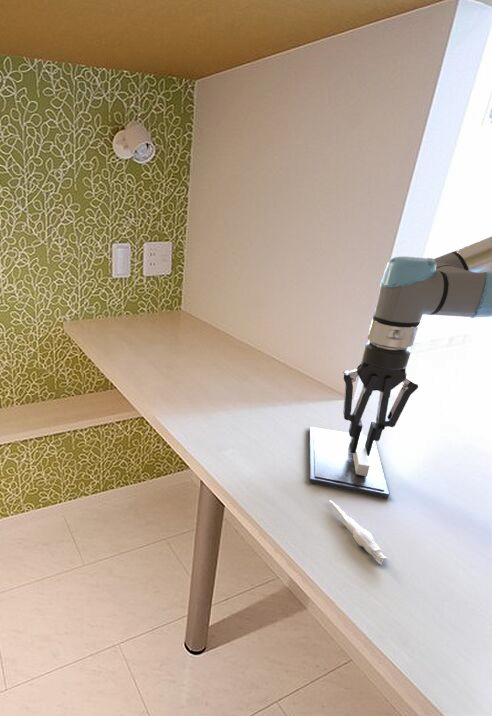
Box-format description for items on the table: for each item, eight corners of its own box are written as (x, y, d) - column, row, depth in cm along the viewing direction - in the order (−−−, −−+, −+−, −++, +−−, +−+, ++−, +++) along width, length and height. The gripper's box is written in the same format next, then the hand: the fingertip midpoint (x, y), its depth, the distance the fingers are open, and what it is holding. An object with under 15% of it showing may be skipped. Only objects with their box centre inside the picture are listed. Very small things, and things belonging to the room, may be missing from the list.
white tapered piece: (390, 565, 67) (394, 556, 66) (375, 568, 66) (378, 559, 66) (334, 502, 80) (336, 494, 79) (321, 504, 80) (323, 496, 79)
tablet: (373, 440, 100) (374, 436, 100) (388, 498, 81) (389, 493, 81) (309, 430, 104) (310, 425, 104) (309, 482, 86) (310, 477, 85)
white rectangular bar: (359, 437, 99) (361, 428, 98) (366, 476, 85) (369, 466, 84) (349, 436, 99) (352, 427, 98) (355, 474, 86) (358, 464, 85)
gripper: (347, 345, 80) (321, 453, 90) (440, 356, 75) (402, 468, 86) (344, 333, 86) (321, 435, 96) (430, 343, 82) (396, 448, 92)
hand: (359, 450), depth 91 cm, fingers closed on white rectangular bar, 2 cm apart
